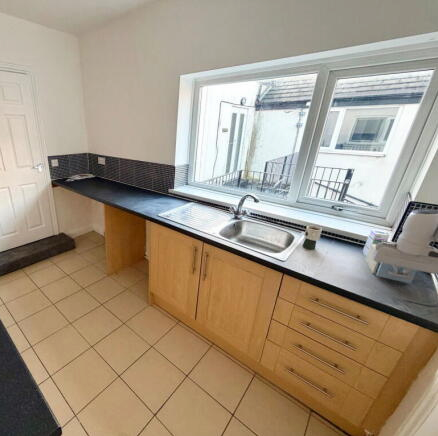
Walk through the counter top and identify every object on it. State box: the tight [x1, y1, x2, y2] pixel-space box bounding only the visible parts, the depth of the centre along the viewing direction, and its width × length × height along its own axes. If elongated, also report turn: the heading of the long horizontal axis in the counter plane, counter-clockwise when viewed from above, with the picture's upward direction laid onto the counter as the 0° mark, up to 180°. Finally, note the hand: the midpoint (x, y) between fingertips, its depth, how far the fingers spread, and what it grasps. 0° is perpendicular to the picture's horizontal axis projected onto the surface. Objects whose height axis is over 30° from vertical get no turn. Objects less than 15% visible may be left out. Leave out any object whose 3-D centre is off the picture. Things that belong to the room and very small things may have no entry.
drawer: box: [375, 262, 418, 284], centre depth 111 cm, size 18×11×8 cm, turn 150°
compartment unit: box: [365, 244, 379, 275], centre depth 116 cm, size 15×13×10 cm
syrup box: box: [362, 229, 390, 258], centre depth 128 cm, size 6×6×14 cm
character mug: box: [302, 224, 323, 251], centre depth 136 cm, size 11×7×13 cm, turn 148°
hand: (398, 275), depth 105 cm, fingers closed
